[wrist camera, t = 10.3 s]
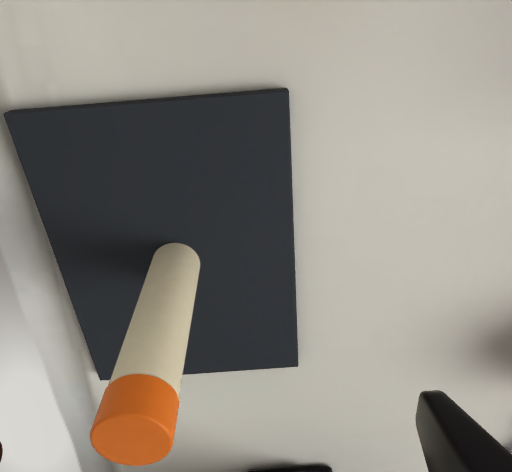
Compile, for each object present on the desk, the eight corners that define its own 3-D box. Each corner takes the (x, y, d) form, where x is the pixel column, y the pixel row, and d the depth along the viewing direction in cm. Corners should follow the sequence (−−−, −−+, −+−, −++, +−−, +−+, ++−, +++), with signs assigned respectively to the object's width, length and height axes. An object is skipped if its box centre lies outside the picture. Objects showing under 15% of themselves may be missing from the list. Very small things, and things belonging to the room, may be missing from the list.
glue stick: (204, 280, 22) (178, 464, 14) (156, 284, 22) (101, 469, 14) (197, 239, 21) (164, 412, 12) (147, 243, 21) (79, 418, 12)
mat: (297, 359, 26) (298, 367, 26) (102, 373, 26) (99, 380, 26) (287, 87, 18) (289, 90, 18) (9, 110, 18) (2, 113, 18)
